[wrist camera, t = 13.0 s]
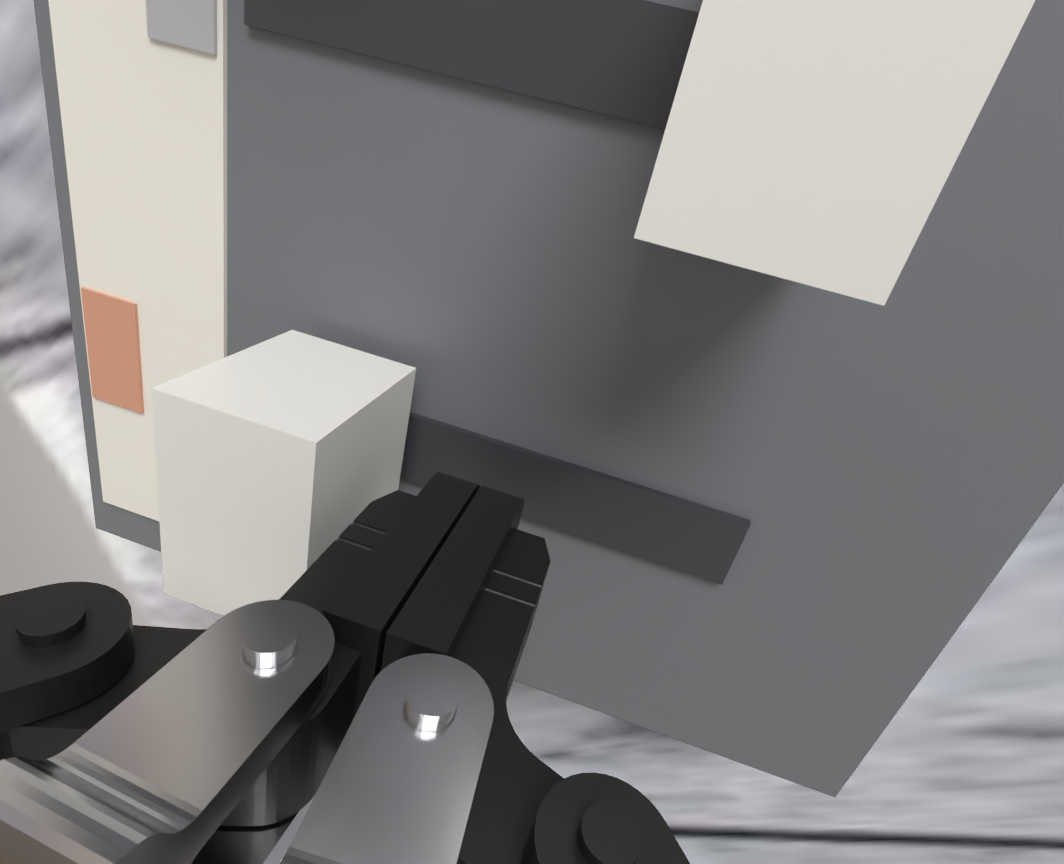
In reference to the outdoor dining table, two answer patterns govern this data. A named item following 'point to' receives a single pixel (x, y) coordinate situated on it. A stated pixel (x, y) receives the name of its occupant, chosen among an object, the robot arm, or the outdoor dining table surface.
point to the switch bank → (581, 334)
